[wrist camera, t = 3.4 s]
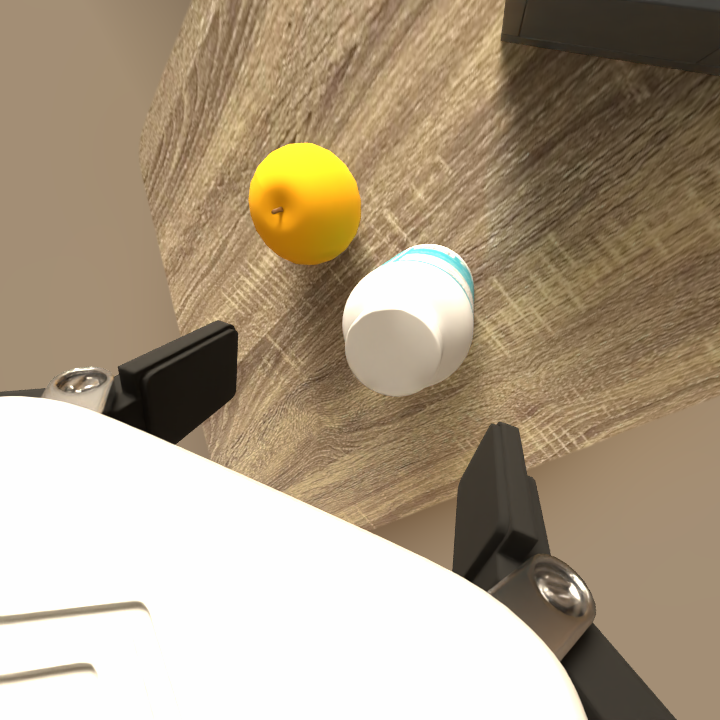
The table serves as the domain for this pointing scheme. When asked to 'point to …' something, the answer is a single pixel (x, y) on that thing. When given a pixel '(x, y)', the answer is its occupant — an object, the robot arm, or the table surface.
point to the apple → (305, 204)
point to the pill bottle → (410, 321)
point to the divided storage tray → (622, 30)
